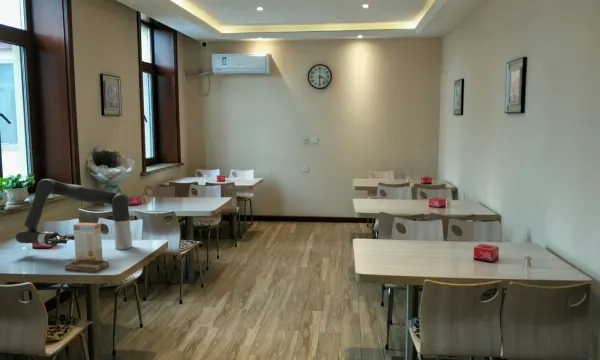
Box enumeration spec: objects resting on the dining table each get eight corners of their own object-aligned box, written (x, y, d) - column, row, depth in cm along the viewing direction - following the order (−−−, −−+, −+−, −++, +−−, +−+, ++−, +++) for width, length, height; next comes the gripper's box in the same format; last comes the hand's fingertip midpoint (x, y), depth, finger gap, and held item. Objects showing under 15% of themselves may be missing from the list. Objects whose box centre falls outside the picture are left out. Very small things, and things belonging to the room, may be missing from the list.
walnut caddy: (79, 264, 273) (79, 259, 273) (108, 266, 268) (108, 261, 268) (65, 270, 263) (64, 264, 263) (95, 272, 258) (94, 267, 258)
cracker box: (103, 259, 282) (100, 223, 280) (95, 262, 277) (93, 225, 274) (83, 257, 287) (80, 221, 284) (75, 260, 281) (72, 223, 279)
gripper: (38, 234, 281) (62, 236, 276) (57, 229, 295) (80, 230, 290) (39, 248, 282) (63, 249, 277) (58, 241, 295) (81, 243, 291)
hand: (72, 239), depth 284 cm, fingers open, 8 cm apart
